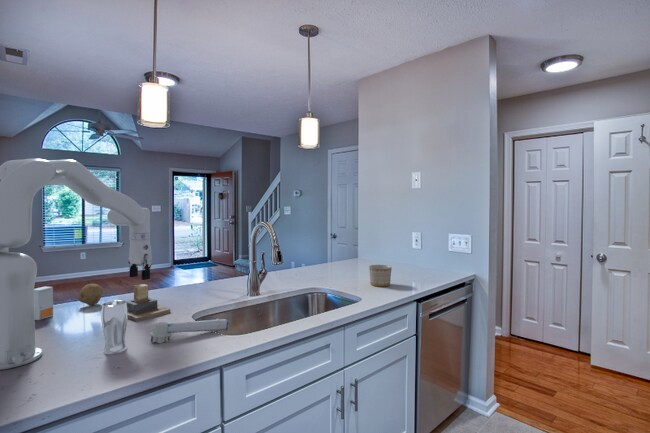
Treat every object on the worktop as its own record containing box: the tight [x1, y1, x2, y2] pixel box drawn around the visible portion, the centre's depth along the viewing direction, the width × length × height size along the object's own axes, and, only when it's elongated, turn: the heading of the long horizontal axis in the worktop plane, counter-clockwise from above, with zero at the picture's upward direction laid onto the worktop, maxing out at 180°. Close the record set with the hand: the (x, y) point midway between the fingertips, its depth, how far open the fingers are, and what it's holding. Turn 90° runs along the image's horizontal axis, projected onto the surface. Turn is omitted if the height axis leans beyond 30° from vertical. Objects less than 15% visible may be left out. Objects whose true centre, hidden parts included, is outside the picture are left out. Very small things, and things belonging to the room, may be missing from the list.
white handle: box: [149, 318, 229, 344], centre depth 119 cm, size 5×7×25 cm
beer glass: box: [100, 299, 129, 356], centre depth 107 cm, size 7×7×15 cm
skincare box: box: [34, 285, 54, 321], centre depth 137 cm, size 6×4×12 cm
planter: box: [368, 264, 393, 288], centre depth 194 cm, size 13×13×10 cm
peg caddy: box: [125, 296, 171, 323], centre depth 144 cm, size 20×14×5 cm
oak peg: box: [133, 283, 149, 304], centre depth 144 cm, size 4×4×10 cm
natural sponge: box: [77, 283, 104, 307], centre depth 153 cm, size 9×9×10 cm
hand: (139, 278), depth 143 cm, fingers open, 9 cm apart
